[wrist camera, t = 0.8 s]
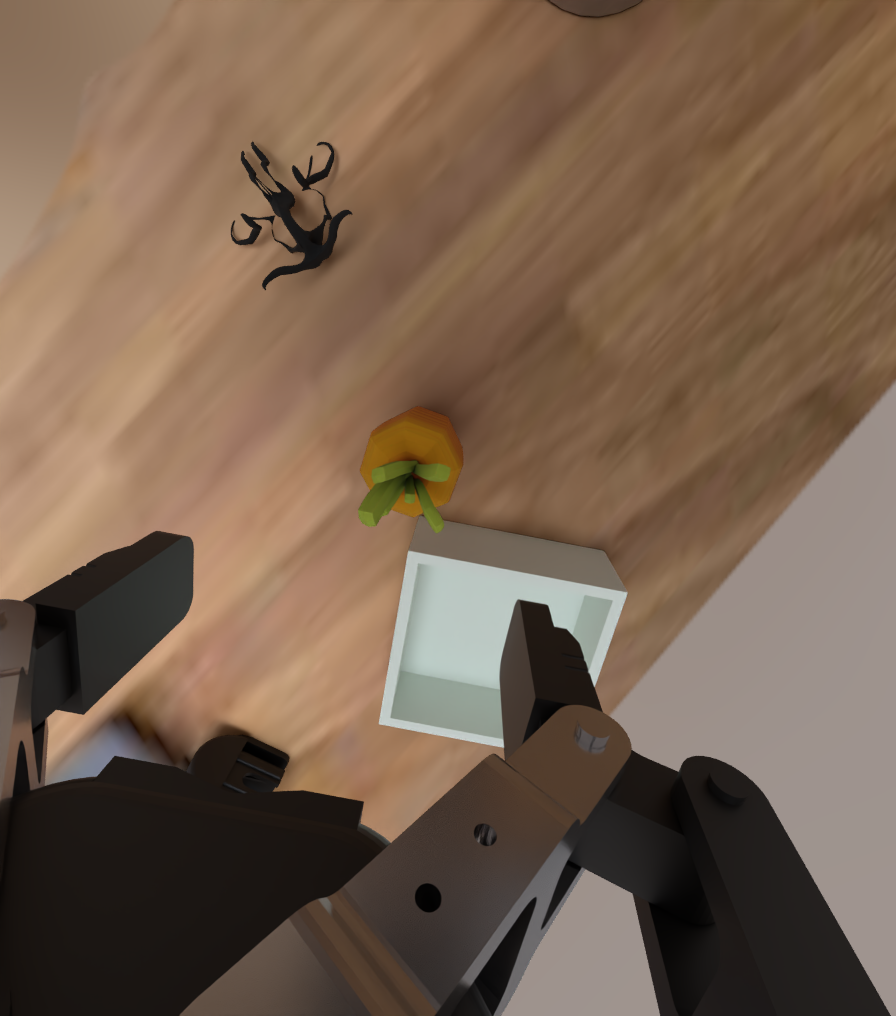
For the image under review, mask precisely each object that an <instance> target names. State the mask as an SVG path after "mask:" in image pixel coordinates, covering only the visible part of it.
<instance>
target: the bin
mask: <svg viewBox="0 0 896 1016" xmlns="http://www.w3.org/2000/svg"><path fill="white" fill-rule="evenodd" d="M443 521H444V528H443V529H442V531H441V532H439V533H435V532H434V531H433V529H432V528H431V526H430V525H429V523H428V521H427V520H426V518H425V516H419V519H418V522H417V525H416V528H415V531H414V535H413V538H412V541H411V544H410V547H409V550H408V556H407V562H406V568H405V573H404V579H403V585H402V591H401V597H400V603H399V609H398V614H397V620H396V626H395V632H394V638H393V644H392V650H391V655H390V661H389V667H388V673H387V679H386V685H385V691H384V696H383V702H382V708H381V714H380V720H379V724H381V725H387V726H392V727H397V728H402V729H408V730H413V731H418V732H424V733H429V734H434V735H440V736H445V737H450V738H455V739H461V740H466V741H471V742H477V743H482V744H487V745H493V746H498V747H503V748H504V741H503V726H502V711H501V696H500V681H499V673H500V663H501V657H502V652H503V648H504V644H505V641H506V637H507V633H508V629H509V625H510V621H511V617H512V613H513V609H514V606H515V603H516V601H517V600H518V599H520V600H525V601H530V602H536V603H541V604H546V605H548V606H549V610H550V613H551V617H552V621H553V624H554V627H559V628H565V629H567V630H568V631H569V632H570V633H571V634H572V635H573V636H574V638H575V639H576V640H577V641H578V642H579V643H580V646H581V649H582V652H583V655H584V661H586V664H587V667H588V673H590V676H591V679H592V682H593V685H594V687H595V685H596V682H597V679H598V676H599V673H600V670H601V668H602V665H603V662H604V659H605V656H606V653H607V650H608V648H609V645H610V642H611V639H612V636H613V633H614V630H615V628H616V625H617V622H618V619H619V616H620V613H621V611H622V608H623V605H624V602H625V599H626V596H627V593H628V592H627V590H626V589H625V587H624V585H623V583H622V582H621V580H620V578H619V576H618V575H617V573H616V571H615V569H614V567H613V566H612V564H611V562H610V560H609V559H608V557H607V555H606V553H605V552H604V551H602V550H597V549H592V548H587V547H581V546H576V545H571V544H566V543H561V542H555V541H550V540H545V539H540V538H535V537H529V536H524V535H519V534H514V533H508V532H503V531H498V530H493V529H488V528H482V527H477V526H472V525H467V524H462V523H456V522H451V521H446V520H443Z"/></svg>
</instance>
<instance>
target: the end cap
mask: <svg viewBox="0 0 896 1016" xmlns="http://www.w3.org/2000/svg"><path fill="white" fill-rule="evenodd" d="M288 762H289V756H288V755H287V754H286V753H284V752H282V751H280V750H278V749H276V748H274V747H272V746H270V745H267V744H265V743H263V742H261V741H259V740H257V739H255V738H253V737H250V736H246V735H225V736H219V737H216V738H213V739H211V740H210V741H208V742H206V743H205V744H204V745H202V746H201V747H200V748H199V750H198V751H197V752H196V753H195V755H194V757H193V759H192V761H191V763H190V765H189V767H188V769H187V771H186V772H187V773H189V774H192V775H194V776H196V777H198V778H200V779H202V780H204V781H206V782H208V783H210V784H212V785H215V786H217V787H219V788H221V789H223V790H225V791H227V792H231V793H258V792H273V790H274V788H275V787H276V788H277V787H278V786H279V784H280V781H281V779H282V777H283V775H284V772H285V770H284V769H285V767H286V766H287V764H288Z"/></svg>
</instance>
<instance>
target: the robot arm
mask: <svg viewBox="0 0 896 1016" xmlns="http://www.w3.org/2000/svg"><path fill="white" fill-rule="evenodd" d="M550 1H551V2H552V3H554V4H555V5H557V6H558V7H560V8H561V9H563V10H566V11H569V12H572V13H575V14H578V15H583V16H604V15H609V14H614V13H619V12H621V11H623V10H625V9H627V8H629V7H632V6H634V5H636V4H638V3H639V2H641V1H642V0H550ZM193 557H194V547H193V542H192V539H191V538H190V537H188V536H182V535H177V534H172V533H166V532H161V531H155V532H153V533H151V534H149V535H148V536H146V537H144V538H143V539H141V540H139V541H138V542H136V543H134V544H133V545H131V546H127V547H124V548H121V549H117V550H114V551H111V552H107V553H104V554H103V555H101V556H99V557H97V558H96V559H94V560H92V561H91V562H89V563H87V565H86V566H82V567H80V568H79V569H77V570H75V571H73V572H72V574H71V575H66V576H65V577H63V578H61V579H60V580H58V581H56V582H54V583H53V584H51V585H49V586H48V587H46V588H44V589H42V590H41V591H39V592H37V593H35V594H34V595H32V596H30V597H29V598H27V599H25V600H23V601H18V600H10V599H0V1016H501V1015H502V1013H503V1012H504V1010H505V1008H506V1006H507V1005H508V1003H509V1001H510V1000H511V998H512V996H513V994H514V992H515V990H516V988H517V986H518V984H519V983H520V981H521V979H522V976H523V975H524V972H525V970H526V968H527V966H528V964H529V962H530V960H531V958H532V956H533V954H534V952H535V950H536V949H537V947H538V945H539V944H540V942H541V940H542V939H543V937H544V936H545V934H546V932H547V931H548V929H549V928H550V926H551V924H552V923H553V921H554V919H555V918H556V916H557V915H558V913H559V911H560V910H561V908H562V906H563V905H564V903H565V902H566V900H567V898H568V897H569V895H570V893H571V892H572V890H573V888H574V887H575V885H576V884H577V882H578V881H579V879H580V877H581V876H582V874H583V872H584V871H585V869H587V870H588V871H590V872H592V873H594V874H596V875H598V876H600V877H602V878H604V879H606V880H608V881H609V882H611V883H613V884H616V885H617V886H619V887H621V888H623V889H625V890H627V891H629V892H631V893H633V897H634V902H635V906H636V910H637V915H638V919H639V924H640V928H641V932H642V937H643V941H644V946H645V950H646V954H647V959H648V963H649V968H650V972H651V977H652V981H653V985H654V990H655V994H656V999H657V1003H658V1007H659V1012H660V1016H891V1015H890V1013H889V1012H888V1010H887V1009H886V1006H885V1005H884V1003H883V1001H882V999H881V998H880V996H879V994H878V993H877V991H876V989H875V987H874V986H873V984H872V982H871V980H870V978H869V977H868V975H867V973H866V971H865V970H864V968H863V966H862V964H861V963H860V961H859V959H858V957H857V956H856V954H855V952H854V950H853V949H852V947H851V945H850V943H849V941H848V940H847V938H846V936H845V934H844V933H843V931H842V929H841V928H840V926H839V924H838V922H837V920H836V919H835V917H834V915H833V913H832V912H831V910H830V908H829V906H828V905H827V903H826V901H825V900H824V898H823V896H822V894H821V892H820V891H819V889H818V887H817V885H816V884H815V882H814V880H813V878H812V877H811V875H810V873H809V871H808V869H807V868H806V866H805V864H804V862H803V861H802V859H801V857H800V855H799V854H798V852H797V850H796V849H795V847H794V845H793V843H792V841H791V840H790V838H789V836H788V834H787V833H786V831H785V829H784V827H783V826H782V824H781V822H780V820H779V819H778V817H777V815H776V813H775V812H774V810H773V808H772V806H771V805H770V803H769V801H768V799H767V798H766V796H765V795H764V793H763V792H762V791H761V790H760V789H759V787H757V785H755V783H754V782H753V781H751V780H750V779H749V778H748V777H747V776H746V775H744V774H743V773H742V772H740V771H739V770H737V769H736V768H734V767H732V766H731V765H728V764H727V763H725V762H722V761H720V760H717V759H714V758H711V757H705V756H693V757H690V758H687V759H686V760H685V761H684V762H683V764H682V765H681V768H680V770H679V772H677V771H675V770H673V769H671V768H668V767H666V766H663V765H661V764H659V763H657V762H654V761H652V760H650V759H647V758H645V757H643V756H641V755H639V754H638V753H636V752H634V751H633V750H631V749H632V748H631V742H630V739H629V737H628V735H627V733H626V732H625V731H624V729H623V728H622V727H621V726H620V725H619V724H618V723H617V722H616V721H615V720H614V719H612V718H611V717H609V716H608V715H606V714H605V713H603V711H602V708H601V705H600V702H599V699H598V696H597V694H596V691H595V688H594V685H593V682H592V679H591V676H590V673H588V667H587V664H586V661H584V655H583V652H582V649H581V646H580V643H579V642H578V641H577V640H576V639H575V638H574V636H573V635H572V634H571V633H570V632H569V631H568V630H567V629H565V628H559V627H554V624H553V621H552V617H551V613H550V610H549V606H548V605H546V604H541V603H536V602H530V601H525V600H520V599H518V600H517V601H516V603H515V606H514V609H513V613H512V617H511V621H510V625H509V629H508V633H507V637H506V641H505V644H504V648H503V652H502V657H501V663H500V673H499V681H500V696H501V711H502V726H503V741H504V756H505V761H504V760H503V759H502V758H500V757H499V756H498V755H496V754H491V755H489V756H488V757H486V758H485V759H484V760H483V761H481V762H480V763H479V764H478V765H477V766H476V767H475V768H474V769H473V770H471V771H470V772H469V773H468V774H467V775H466V776H465V777H464V778H463V779H461V780H460V781H459V782H458V783H457V784H456V785H455V786H454V787H453V788H452V789H450V790H449V791H448V792H447V793H446V794H445V795H444V796H443V797H442V798H440V799H439V800H438V801H437V802H436V803H435V804H434V805H433V806H432V807H431V808H429V809H428V810H427V811H426V812H425V813H424V814H423V815H422V816H421V817H419V818H418V819H417V820H416V821H415V822H414V823H413V824H412V825H411V826H409V827H408V828H407V829H406V830H405V831H404V832H403V833H402V834H401V835H400V836H398V837H397V838H396V839H395V840H394V841H393V842H392V843H390V842H389V841H388V840H387V839H385V838H384V837H383V836H382V835H380V834H378V833H377V832H375V831H374V830H372V829H371V828H369V827H367V826H365V825H363V824H361V823H360V822H361V816H362V810H363V804H364V802H363V801H358V800H352V799H347V798H341V797H336V796H330V795H325V794H320V793H314V792H309V791H303V790H302V791H280V792H258V793H231V792H227V791H225V790H223V789H221V788H219V787H217V786H215V785H212V784H210V783H208V782H206V781H204V780H202V779H200V778H198V777H196V776H194V775H192V774H189V773H187V772H185V771H183V770H181V769H179V768H177V767H173V766H167V765H162V764H157V763H151V762H146V761H140V760H135V759H129V758H124V757H118V756H114V757H113V759H112V760H111V761H110V762H109V763H108V764H107V765H106V767H105V768H104V769H103V770H102V771H101V772H100V774H99V775H98V776H97V777H86V778H79V779H72V780H67V781H63V782H58V783H54V784H50V785H47V786H45V773H46V758H47V743H48V722H47V717H48V716H49V715H50V714H52V713H53V712H54V711H55V710H61V711H66V712H72V713H77V714H82V715H84V714H85V713H86V712H87V711H88V710H89V709H90V708H91V707H92V706H93V705H94V704H95V703H96V702H97V701H98V700H99V699H100V698H101V697H103V696H104V695H105V694H106V693H107V692H108V691H109V690H110V689H111V688H112V687H113V686H114V685H115V684H116V683H117V682H118V681H119V680H120V679H121V678H122V677H123V676H124V675H125V674H126V673H128V672H129V671H130V670H131V669H132V668H133V667H134V666H135V665H136V664H137V663H138V662H139V661H140V660H141V659H142V658H143V657H144V656H145V655H146V654H147V653H148V652H149V651H150V650H151V649H153V648H154V647H155V646H156V645H157V644H158V643H159V642H160V641H161V640H162V639H163V638H164V637H165V636H166V635H167V634H168V633H169V632H170V631H171V630H172V629H173V628H174V627H175V626H176V625H177V624H179V623H180V622H181V621H182V620H183V619H184V617H185V616H186V614H187V613H188V611H189V608H190V606H191V603H192V598H193Z"/></svg>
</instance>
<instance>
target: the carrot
mask: <svg viewBox="0 0 896 1016" xmlns="http://www.w3.org/2000/svg"><path fill="white" fill-rule="evenodd" d="M462 466H463V449H462V446H461V444H460V441H459V439H458V437H457V435H456V433H455V431H454V429H453V427H452V424H451V422H450V420H449V418H448V417H447V416H444V415H441V414H439V413H436V412H433V411H430V410H428V409H425V408H422V407H418V406H417V407H415V408H413V409H410V410H408V411H406V412H404V413H402V414H400V415H398V416H396V417H394V418H392V419H390V420H388V421H386V422H384V423H383V424H381V425H380V426H378V427H377V428H376V429H375V430H373V431H372V433H371V435H370V438H369V442H368V445H367V448H366V452H365V455H364V458H363V461H362V465H361V468H360V473H361V475H362V476H363V478H364V480H365V482H366V484H367V486H368V487H369V489H370V492H369V493H368V494H367V496H366V497H365V499H364V501H363V502H362V504H361V506H360V507H359V509H358V513H359V519H360V520H361V522H362V523H363V524H365V525H367V526H368V527H370V526H376V525H377V523H378V522H379V520H380V518H381V517H382V516H385V515H387V514H388V513H389V512H390V510H394V511H396V512H399V513H402V514H405V515H408V516H411V517H415V516H418V515H420V514H422V513H424V516H425V518H426V520H427V521H428V523H429V525H430V526H431V528H432V529H433V531H434V532H435V533H439V532H441V531H442V529H443V528H444V521H443V519H442V518H441V516H440V514H439V513H438V511H437V509H436V507H438V506H441V505H443V504H445V503H448V502H449V500H450V498H451V495H452V493H453V490H454V487H455V485H456V482H457V480H458V477H459V474H460V472H461V469H462Z"/></svg>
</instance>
